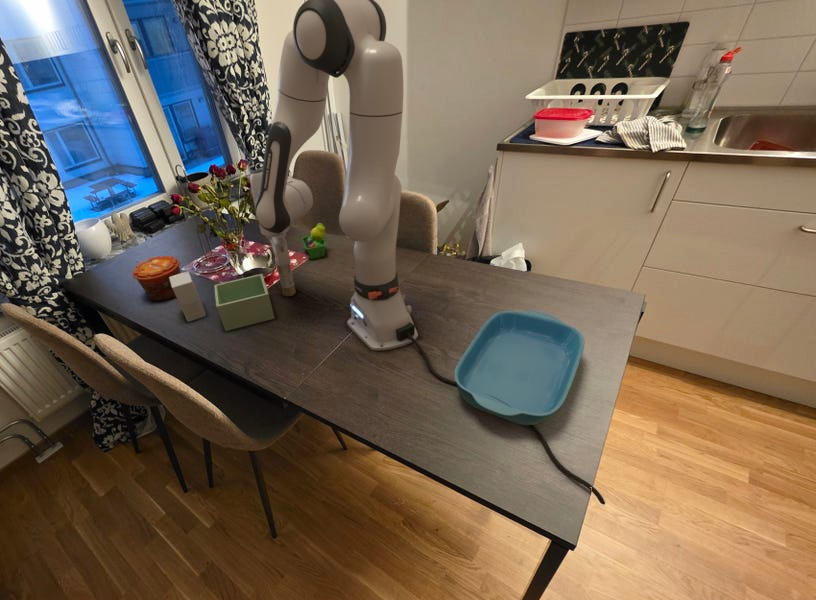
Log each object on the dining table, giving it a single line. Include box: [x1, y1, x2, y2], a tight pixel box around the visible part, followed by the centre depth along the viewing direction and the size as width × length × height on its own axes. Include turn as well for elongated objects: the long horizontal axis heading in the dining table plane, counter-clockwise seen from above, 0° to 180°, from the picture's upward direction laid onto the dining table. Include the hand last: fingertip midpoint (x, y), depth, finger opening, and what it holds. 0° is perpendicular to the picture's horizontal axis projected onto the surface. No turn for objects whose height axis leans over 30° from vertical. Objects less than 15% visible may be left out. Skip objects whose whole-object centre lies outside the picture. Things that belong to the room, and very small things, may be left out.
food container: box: [132, 255, 182, 302], centre depth 138 cm, size 16×16×11 cm
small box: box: [169, 271, 207, 323], centre depth 124 cm, size 8×6×13 cm
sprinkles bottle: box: [274, 257, 297, 297], centre depth 127 cm, size 5×5×13 cm
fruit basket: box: [301, 222, 327, 260], centre depth 149 cm, size 11×9×11 cm
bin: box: [213, 273, 276, 332], centre depth 122 cm, size 14×16×9 cm
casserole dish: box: [453, 310, 585, 426], centre depth 89 cm, size 37×22×7 cm, turn 145°
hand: (282, 266), depth 125 cm, fingers open, 8 cm apart
